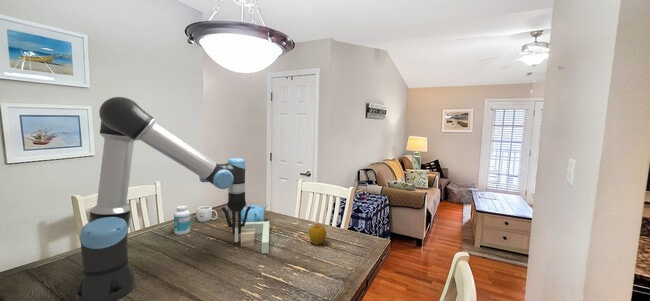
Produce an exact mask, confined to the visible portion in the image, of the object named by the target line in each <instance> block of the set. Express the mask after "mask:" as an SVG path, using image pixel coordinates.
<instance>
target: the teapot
mask: <svg viewBox="0 0 650 301" xmlns="http://www.w3.org/2000/svg"><path fill="white" fill-rule="evenodd" d="M249 205H250V206H251V208H250V210H249V211H248V215H247V219H246V222H264V221H265V210H266V208H267V207H269V205H268V204H266V205H264V206H263V207H261V206H259V205H257V204H249ZM245 208H246V207H244V208H243V210H242V211H241V222H243V220H244V216H245V212H246V209H245ZM236 215H238V212H237V213H236Z"/></svg>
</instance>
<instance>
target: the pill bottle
mask: <svg viewBox="0 0 650 301" xmlns="http://www.w3.org/2000/svg"><path fill="white" fill-rule="evenodd" d="M173 230H174V235H175V234H176V235H181V236H182V235H185V234H188V233H190V232H191V210H188V206H187V205H178V206H176V211H175V212H174V213H173Z"/></svg>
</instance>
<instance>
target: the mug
mask: <svg viewBox="0 0 650 301" xmlns="http://www.w3.org/2000/svg"><path fill="white" fill-rule="evenodd" d="M195 212H196V213H195V214H196V218H197V220H198V221H199V222H200V223H206V222H209V221H211V220H213V221H214V220H217V218H218V212H217V210H215V209H213V206H211V205H202V206H201V205H200V206H198V207H197V208H196V210H195ZM213 212H214V213H215V215H216V216H215V217H214V218H213V217H212V216H213Z"/></svg>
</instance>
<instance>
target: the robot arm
mask: <svg viewBox="0 0 650 301" xmlns="http://www.w3.org/2000/svg"><path fill="white" fill-rule="evenodd" d="M98 112H99V113H98V114H99V115H98V116H99V118H100V129H99V135H100V136H101V137H102V138H103V139H104V140H103V141H104V143H103V148H102V157H101V166H100V174H99V183H98V190H97V191H98V192H97V198H96V199H97V200H96V205H95V206H93V207H92V208H91V209H90V211H89V219H88V220H89V221H88V222H87V223H86V224H84V225H83V226H82V227H81V229H80V234H79V241H80V249H81V250H80V251H81V269H82V274H81V275H82V276H81V279H80V281H79V283H78V288H77V290H76V293H75V301H116V300H119V299H121V298H122V297H124V296H126V295H128V294H129V293H130V292H132V290H134V289H135V287H136V276H135V274H134V272H133V270H132V268H131V267H130V264H129V248H128V246H129V245H128V244H129V242H128V239H129V238H128V237H129V228H130V216H131V207H130V206H129V205H128V204H127V200H128V195H129V194H128V193H129V186H130V185H129V184H130V177H131V171H132V170H131V169H132V160H133V154H134V152H133V151H134V144H135V141H141V142H142V143H144V144H146V145H148V146H149V147H150V148H153V149H154V150H156V151H157V152H159V153H160V154H162V155H164V156H166V157H168V158H169V159H171V160H172V161H174V162H176V163H177V164H178V165H180V166H182V167H184V168H186V169H187V170H189V171H191V172H192V173H193V174H195V175H197V176H198V177H199V181H200V182H201V183H210V184H211V185H213V186H214V187H215V188H217V189H219V190H227V191H228V193H227V194H228V195H227V196H228V197H227V199H228V200H227V203H226V205H223V206H222V207H221V210H222V211H223V213H224V215H225V219H226V223H227V227H228V228H231V229H232V231H231V232H232V235H234V243H239V240H240V236H239V235H241V227H244V226H245V222H246V219H247V215H248V211H249V210H250V208H251V206H250V205H251V204H248V203H247V202H246V192H245V191H246V170H247V169H246V160H245V159H243V158H240V157H238V158H237V157H234V158H229V159H227V162H226V163H216V162H215V161H214V160H213V159H211V158H210V157H208V156H207V155H205V154H203V152H200V151H199V150H198V149H197V148H195V147H193V146H192V145H190V144H189V143H187V142H185V141H184V140H183V139H181V138H180V137H178V136H176V135H175V134H173V133H172V132H171V131H169V130H167V129H166V128H164V126H161V125H160V124H159V123H157V122H156V119H155V117H153V116H151V114H149V113H148V112H146V111H145V110H144V109H142V108H141V107H140V105H139V104H138V103H137V102H135V101H134V100H132V99H130V98H128V97H124V96H115V97H110V98H108V99H106V100H105V101H104V102H102V104H101V105H100V107H99V110H98ZM244 207H246V208H245V209H246V212H245V216H244V220H243V223H241V211H242V210H243V208H244ZM229 210H230V211H231V214H232V215H231V217H230V212H229ZM236 212H237V213H238V214H237V213H236ZM236 215H237V219H236ZM231 219H232V220H231ZM236 222H237V224H236Z"/></svg>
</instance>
